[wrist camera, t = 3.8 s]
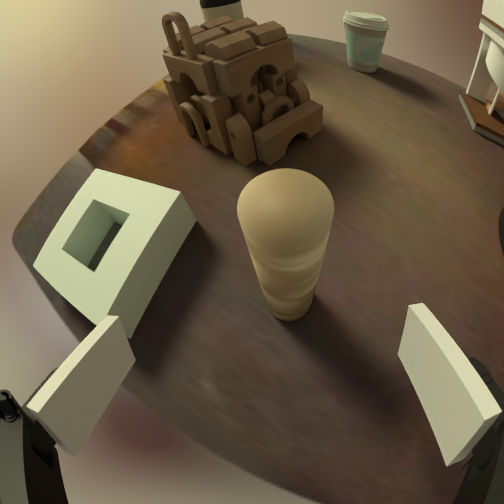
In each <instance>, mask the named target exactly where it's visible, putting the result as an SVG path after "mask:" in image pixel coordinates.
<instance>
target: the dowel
mask: <svg viewBox="0 0 504 504" xmlns="http://www.w3.org/2000/svg"><path fill="white" fill-rule="evenodd" d="M237 213H238V218H239V221H240V224H241V227H242V230H243V233H244V237H245V240H246V243H247V246H248V249H249V252H250V255H251V258H252V261H253V264H254V267H255V270H256V273H257V277H258V280H259V283H260V286H261V289H262V292H263V295H264V298H265V301H266V304H267V307H268V309H269V311H270V312H271V314H272V315H273V316H275V317H276V318H278V319H280V320H283V321H293V320H297V319H299V318H301V317H302V316H304V315H305V314H306V313H307V311H308V310H309V308H310V306H311V302H312V299H313V295H314V292H315V288H316V284H317V281H318V277H319V273H320V269H321V265H322V261H323V257H324V253H325V249H326V245H327V241H328V237H329V233H330V228H331V224H332V219H333V215H334V201H333V197H332V195H331V193H330V191H329V189H328V188H327V187H326V185H325V184H324V183H323V182H322V181H321V180H319V179H318V178H317V177H315V176H313V175H312V174H310V173H307V172H305V171H301V170H297V169H289V168H286V169H275V170H271V171H268V172H265V173H263V174H260V175H259V176H257V177H255V178H254V179H253V180H251V181H250V182H249V183H248V184H247V185H246V186H245V188H244V189H243V191H242V192H241V194H240V197H239V200H238V205H237Z"/></svg>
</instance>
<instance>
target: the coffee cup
mask: <svg viewBox="0 0 504 504" xmlns="http://www.w3.org/2000/svg"><path fill="white" fill-rule="evenodd" d="M343 21H344V24H345V34H346V45H347V58H348V65H349V66H350V67H351V68H353V69H355V70H357V71H361V72H367V73H372V72H375V71H376V70H377V67H378V63H379V59H380V56H381V52H382V48H383V44H384V40H385V36H386V32H387V30H389V28H388V24H387V20H386V19H385V18H384V17H382V16H379V15H377V14H374V13H370V12H365V11H358V10H348V11H346V12H345V15H344V16H343Z"/></svg>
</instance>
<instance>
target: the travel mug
mask: <svg viewBox="0 0 504 504" xmlns="http://www.w3.org/2000/svg"><path fill="white" fill-rule="evenodd" d="M200 5H201V9H202V13H203V17H204V20H205V22H208V21H210V20H213V19H216V18H219V17H223V16H229V17H230V18H232V19H234V20H235V21H236V20H239V19H243V18H244V17H243V12H242V6H241V1H240V0H200Z"/></svg>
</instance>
